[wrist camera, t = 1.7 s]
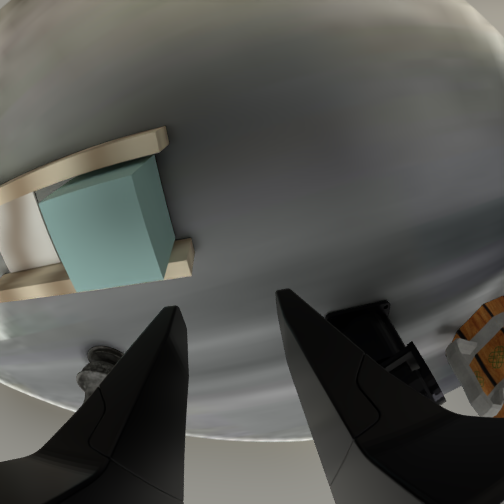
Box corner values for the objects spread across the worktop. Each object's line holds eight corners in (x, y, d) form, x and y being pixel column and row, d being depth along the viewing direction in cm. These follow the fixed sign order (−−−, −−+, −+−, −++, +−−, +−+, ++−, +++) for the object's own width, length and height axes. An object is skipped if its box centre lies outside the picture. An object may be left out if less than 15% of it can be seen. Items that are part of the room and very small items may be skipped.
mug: (518, 299, 30) (568, 360, 17) (473, 360, 37) (510, 423, 24) (461, 284, 26) (536, 380, 13) (402, 366, 32) (446, 459, 19)
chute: (165, 126, 16) (155, 131, 14) (194, 252, 21) (191, 275, 18) (-28, 200, 16) (-48, 214, 13) (8, 284, 21) (-6, 303, 18)
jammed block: (154, 154, 17) (131, 175, 12) (175, 237, 20) (163, 279, 16) (75, 176, 17) (38, 203, 12) (101, 251, 20) (76, 292, 15)
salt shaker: (147, 370, 28) (132, 473, 17) (113, 382, 29) (94, 473, 18) (107, 337, 25) (76, 447, 14) (75, 353, 26) (44, 447, 15)
